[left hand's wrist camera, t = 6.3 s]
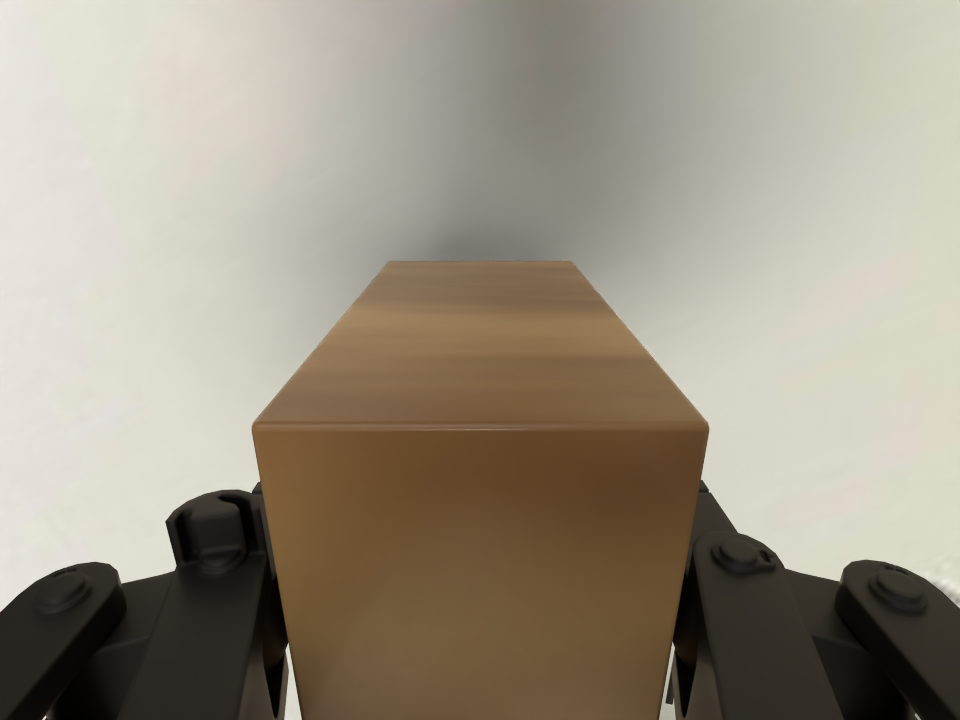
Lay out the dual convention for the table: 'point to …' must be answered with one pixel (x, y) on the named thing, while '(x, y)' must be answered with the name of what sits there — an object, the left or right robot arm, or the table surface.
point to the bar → (480, 502)
